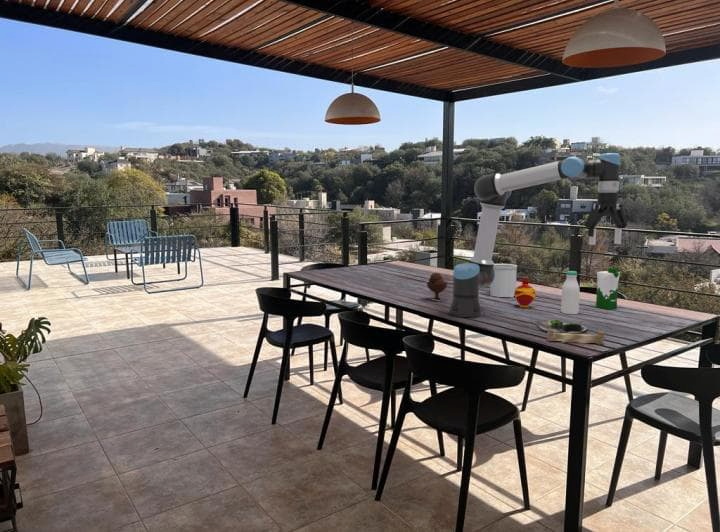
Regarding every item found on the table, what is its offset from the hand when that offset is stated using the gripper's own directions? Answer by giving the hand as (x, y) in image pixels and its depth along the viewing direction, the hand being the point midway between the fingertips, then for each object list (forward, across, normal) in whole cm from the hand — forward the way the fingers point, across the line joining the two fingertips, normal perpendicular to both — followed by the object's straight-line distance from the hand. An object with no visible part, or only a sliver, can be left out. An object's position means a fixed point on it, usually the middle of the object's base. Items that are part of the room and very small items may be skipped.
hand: (604, 244), depth 206 cm
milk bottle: (+35, +9, +27) cm, 45 cm away
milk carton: (+35, +36, +31) cm, 59 cm away
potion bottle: (+35, -2, +46) cm, 58 cm away
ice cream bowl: (+35, -35, +76) cm, 91 cm away
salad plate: (+36, -18, +1) cm, 40 cm away
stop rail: (+35, -27, -15) cm, 47 cm away
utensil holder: (+35, +6, +76) cm, 84 cm away
